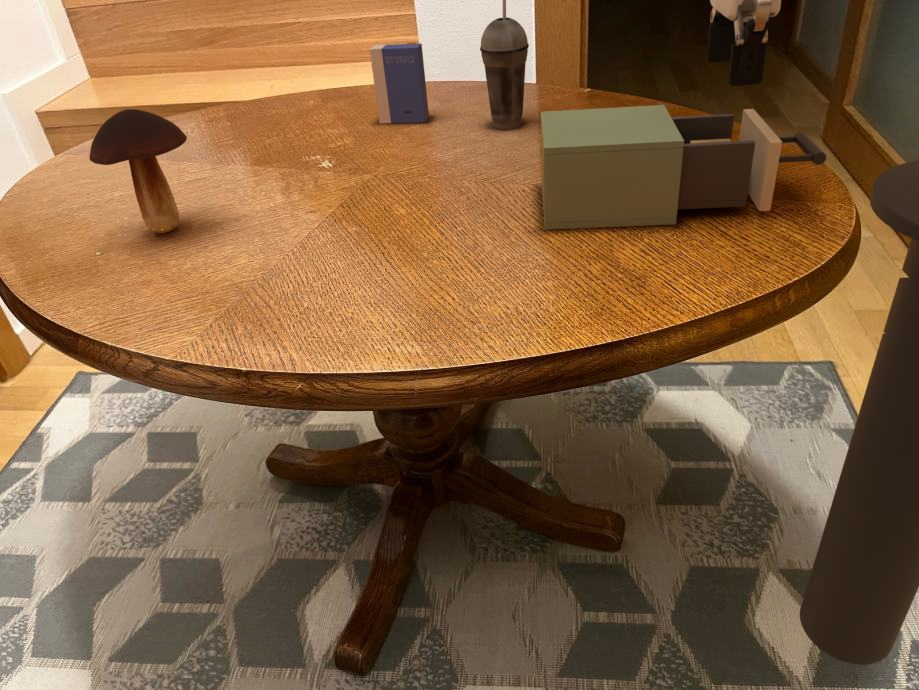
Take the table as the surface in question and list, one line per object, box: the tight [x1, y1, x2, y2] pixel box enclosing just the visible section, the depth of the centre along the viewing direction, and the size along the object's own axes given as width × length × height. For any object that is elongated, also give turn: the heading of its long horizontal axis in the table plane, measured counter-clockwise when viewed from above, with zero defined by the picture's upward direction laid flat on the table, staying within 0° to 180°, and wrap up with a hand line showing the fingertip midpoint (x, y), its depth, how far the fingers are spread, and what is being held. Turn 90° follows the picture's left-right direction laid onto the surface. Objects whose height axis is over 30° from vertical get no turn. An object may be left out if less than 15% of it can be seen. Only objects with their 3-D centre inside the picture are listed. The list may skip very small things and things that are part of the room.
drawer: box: [671, 108, 827, 212], centre depth 83 cm, size 19×11×8 cm, turn 86°
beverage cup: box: [479, 0, 530, 130], centre depth 109 cm, size 7×7×20 cm
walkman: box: [369, 41, 430, 124], centre depth 117 cm, size 8×3×12 cm, turn 79°
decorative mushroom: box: [88, 108, 188, 234], centre depth 87 cm, size 11×11×15 cm
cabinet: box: [540, 104, 684, 231], centre depth 85 cm, size 15×13×10 cm
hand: (732, 72), depth 79 cm, fingers open, 9 cm apart
